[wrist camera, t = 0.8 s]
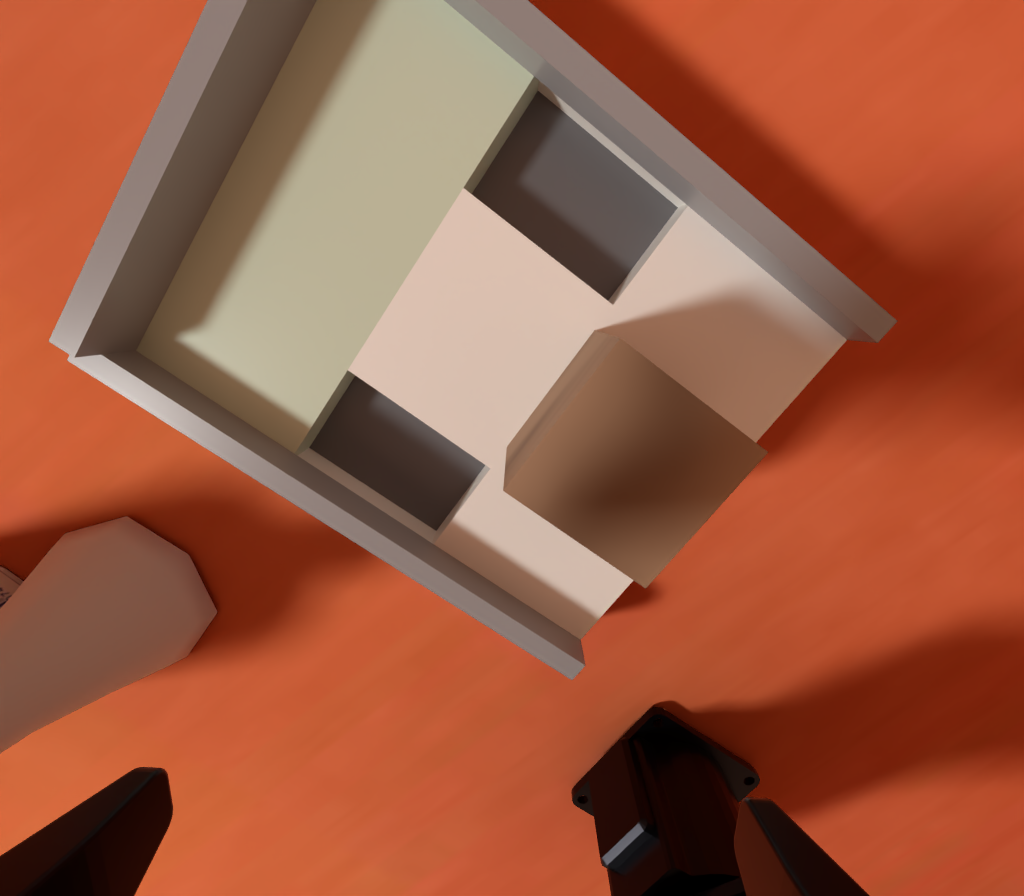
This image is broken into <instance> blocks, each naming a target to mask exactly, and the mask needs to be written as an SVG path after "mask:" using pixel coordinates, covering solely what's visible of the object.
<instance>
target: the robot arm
mask: <svg viewBox="0 0 1024 896" xmlns="http://www.w3.org/2000/svg"><path fill="white" fill-rule="evenodd" d="M656 719H660V720H658V721H654V720H656ZM759 782H760V778H759V776H758V774H757V772H756V770H755V769H754V767H752V766H751V765H749V764H748V763H746V762H745V761H743V760H742V759H740V758H738V757H737V756H735V755H734V754H732V753H731V752H729V751H728V750H726V749H724V748H723V747H721V746H720V745H718V744H717V743H715V742H714V741H712V740H710V739H709V738H707V737H706V736H704V735H703V734H701V733H700V732H698V731H697V730H695V729H693V728H692V727H690V726H689V725H687V724H686V723H684V722H683V721H681V720H679V719H678V718H676V717H675V716H673V715H672V714H670V713H669V712H667V711H666V710H664V709H662V708H658V707H655V708H651V709H650V710H648V711H647V712H646V713H645V714H644V715H643V716H642V717H641V718H640V719H639V720H638V721H637V723H636V724H635V725H634V726H633V727H632V728H631V729H630V730H629V731H628V732H627V733H626V734H625V735H624V736H623V737H622V738H621V739H620V740H619V741H618V742H617V743H616V744H615V745H614V746H613V747H612V748H611V749H610V750H609V751H608V752H607V753H606V754H605V755H604V756H603V757H602V758H601V759H600V760H599V762H598V763H597V764H596V765H595V766H594V767H593V768H592V769H591V770H590V771H589V772H588V773H587V774H586V775H585V776H584V777H583V778H582V779H581V780H580V781H579V782H578V783H577V784H576V785H575V786H574V787H573V789H572V801H573V803H574V805H576V806H577V807H579V808H580V809H582V810H584V811H585V812H587V813H589V814H591V815H592V816H594V819H595V826H596V833H597V839H598V846H599V853H600V860H601V864H602V866H604V867H606V868H607V871H608V877H609V884H610V890H611V896H869V895H868V894H867V893H866V892H865V891H864V890H863V889H862V888H861V887H860V886H859V885H858V884H857V883H856V882H855V881H854V880H853V879H852V878H851V877H850V876H849V875H848V874H847V873H846V872H845V871H844V870H843V869H842V868H841V867H840V866H839V865H838V864H837V863H836V862H835V861H834V860H833V859H832V858H831V857H830V856H829V855H828V854H827V853H826V852H825V851H824V850H823V849H822V848H820V847H819V846H818V845H817V844H816V843H815V842H814V841H813V840H812V839H811V838H810V837H809V836H808V835H807V834H806V833H805V832H804V831H803V830H802V829H801V828H800V827H799V826H798V825H797V824H796V823H795V822H794V821H793V820H792V819H791V818H790V817H789V816H788V815H787V814H786V813H785V812H784V811H783V810H782V809H781V808H780V807H779V806H778V805H777V804H775V803H774V802H773V801H771V800H770V799H767V798H753V797H746V796H747V795H748V794H749V793H750V792H751V791H752V790H753V789H754V788H755V787H757V785H758V784H759ZM583 795H584V796H583ZM744 797H746V798H744ZM743 798H744V799H743ZM742 799H743V800H742ZM741 800H742V801H741ZM740 801H741V804H739V802H740ZM172 815H173V804H172V798H171V791H170V785H169V779H168V774H167V772H166V771H165V770H164V769H163V768H153V767H139V768H136V769H134V770H132V771H130V772H128V773H127V774H125V775H124V776H122V777H121V778H119V779H118V780H116V781H115V782H113V783H112V784H110V785H109V786H107V787H105V788H104V789H102V790H101V791H99V792H98V793H96V794H95V795H93V796H92V797H90V798H89V799H87V800H85V801H84V802H82V803H81V804H79V805H78V806H76V807H75V808H73V809H72V810H70V811H69V812H67V813H66V814H64V815H62V816H61V817H59V818H58V819H56V820H55V821H53V822H52V823H50V824H49V825H47V826H46V827H44V828H43V829H41V830H39V831H38V832H36V833H35V834H33V835H32V836H30V837H29V838H27V839H26V840H24V841H23V842H21V843H20V844H18V845H16V846H15V847H13V848H12V849H10V850H9V851H7V852H6V853H4V854H3V855H1V856H0V896H134V895H135V893H136V891H137V889H138V887H139V885H140V883H141V881H142V879H143V877H144V875H145V873H146V871H147V869H148V867H149V865H150V863H151V861H152V859H153V857H154V855H155V853H156V851H157V849H158V847H159V845H160V843H161V841H162V839H163V837H164V835H165V833H166V831H167V829H168V827H169V825H170V822H171V819H172Z"/></svg>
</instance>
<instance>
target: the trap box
mask: <svg viewBox="0 0 1024 896" xmlns="http://www.w3.org/2000/svg"><path fill="white" fill-rule="evenodd" d="M896 322H897V320H896V319H895V318H893V317H892V316H891V315H890V314H889V313H888V312H887V311H885V310H884V309H883V308H882V307H881V306H880V305H878V304H877V303H876V302H875V301H874V300H873V299H872V298H870V297H869V296H868V295H867V294H866V293H865V292H863V291H862V290H861V289H860V288H859V287H858V286H857V285H855V284H854V283H853V282H852V281H851V280H850V279H848V278H847V277H846V276H845V275H844V274H843V273H842V272H840V271H839V270H838V269H837V268H836V267H835V266H834V265H832V264H831V263H830V262H829V261H828V260H827V259H825V258H824V257H823V256H822V255H821V254H820V253H819V252H817V251H816V250H815V249H814V248H813V247H812V246H810V245H809V244H808V243H807V242H806V241H805V240H804V239H802V238H801V237H800V236H799V235H798V234H797V233H795V232H794V231H793V230H792V229H791V228H790V227H789V226H787V225H786V224H785V223H784V222H783V221H782V220H780V219H779V218H778V217H777V216H776V215H775V214H774V213H772V212H771V211H770V210H769V209H768V208H767V207H765V206H764V205H763V204H762V203H761V202H760V201H759V200H757V199H756V198H755V197H754V196H753V195H752V194H750V193H749V192H748V191H747V190H746V189H745V188H744V187H742V186H741V185H740V184H739V183H738V182H737V181H735V180H734V179H733V178H732V177H731V176H730V175H729V174H727V173H726V172H725V171H724V170H723V169H722V168H721V167H719V166H718V165H717V164H716V163H715V162H714V161H712V160H711V159H710V158H709V157H708V156H707V155H706V154H704V153H703V152H702V151H701V150H700V149H699V148H697V147H696V146H695V145H694V144H693V143H692V142H691V141H689V140H688V139H687V138H686V137H685V136H684V135H682V134H681V133H680V132H679V131H678V130H677V129H676V128H674V127H673V126H672V125H671V124H670V123H669V122H667V121H666V120H665V119H664V118H663V117H662V116H661V115H659V114H658V113H657V112H656V111H655V110H654V109H652V108H651V107H650V106H649V105H648V104H647V103H646V102H644V101H643V100H642V99H641V98H640V97H639V96H637V95H636V94H635V93H634V92H633V91H632V90H631V89H629V88H628V87H627V86H626V85H625V84H624V83H622V82H621V81H620V80H619V79H618V78H617V77H616V76H614V75H613V74H612V73H611V72H610V71H609V70H608V69H606V68H605V67H604V66H603V65H602V64H601V63H599V62H598V61H597V60H596V59H595V58H594V57H593V56H591V55H590V54H589V53H588V52H587V51H586V50H584V49H583V48H582V47H581V46H580V45H579V44H578V43H576V42H575V41H574V40H573V39H572V38H571V37H569V36H568V35H567V34H566V33H565V32H564V31H563V30H561V29H560V28H559V27H558V26H557V25H556V24H554V23H553V22H552V21H551V20H550V19H549V18H548V17H546V16H545V15H544V14H543V13H542V12H541V11H539V10H538V9H537V8H536V7H535V6H534V5H533V4H531V3H530V2H529V1H528V0H208V1H207V3H206V5H205V7H204V9H203V12H202V14H201V16H200V18H199V20H198V22H197V24H196V27H195V29H194V31H193V33H192V35H191V37H190V39H189V42H188V44H187V46H186V48H185V50H184V52H183V54H182V57H181V59H180V61H179V63H178V65H177V67H176V69H175V72H174V74H173V76H172V78H171V80H170V82H169V84H168V87H167V89H166V91H165V93H164V95H163V97H162V99H161V102H160V104H159V106H158V108H157V110H156V112H155V114H154V117H153V119H152V121H151V123H150V125H149V127H148V129H147V132H146V134H145V136H144V138H143V140H142V142H141V144H140V147H139V149H138V151H137V153H136V155H135V157H134V159H133V162H132V164H131V166H130V168H129V170H128V172H127V174H126V177H125V179H124V181H123V183H122V185H121V187H120V189H119V192H118V194H117V196H116V198H115V200H114V202H113V204H112V207H111V209H110V211H109V213H108V215H107V217H106V219H105V222H104V224H103V226H102V228H101V230H100V232H99V234H98V237H97V239H96V241H95V243H94V245H93V247H92V249H91V252H90V254H89V256H88V258H87V260H86V262H85V264H84V267H83V269H82V271H81V273H80V275H79V277H78V279H77V282H76V284H75V286H74V288H73V290H72V292H71V294H70V297H69V299H68V301H67V303H66V305H65V307H64V309H63V312H62V314H61V316H60V318H59V320H58V322H57V324H56V327H55V329H54V331H53V333H52V335H51V337H50V339H49V342H50V343H52V344H54V345H55V346H57V347H58V348H60V349H61V350H63V351H65V352H66V353H68V354H69V357H68V360H67V361H69V362H71V363H72V364H74V365H75V366H77V367H79V368H80V369H82V370H83V371H85V372H86V373H88V374H90V375H91V376H93V377H94V378H96V379H97V380H99V381H101V382H102V383H104V384H105V385H107V386H108V387H110V388H112V389H113V390H115V391H116V392H118V393H120V394H121V395H123V396H124V397H126V398H127V399H129V400H131V401H132V402H134V403H135V404H137V405H138V406H140V407H142V408H143V409H145V410H146V411H148V412H150V413H151V414H153V415H154V416H156V417H157V418H159V419H161V420H162V421H164V422H165V423H167V424H168V425H170V426H172V427H173V428H175V429H176V430H178V431H180V432H181V433H183V434H184V435H186V436H187V437H189V438H191V439H192V440H194V441H195V442H197V443H198V444H200V445H202V446H203V447H205V448H206V449H208V450H210V451H211V452H213V453H214V454H216V455H217V456H219V457H221V458H222V459H224V460H225V461H227V462H228V463H230V464H232V465H233V466H235V467H236V468H238V469H239V470H241V471H243V472H244V473H246V474H247V475H249V476H251V477H252V478H254V479H255V480H257V481H258V482H260V483H262V484H263V485H265V486H266V487H268V488H269V489H271V490H273V491H274V492H276V493H277V494H279V495H281V496H282V497H284V498H285V499H287V500H288V501H290V502H292V503H293V504H295V505H296V506H298V507H299V508H301V509H303V510H304V511H306V512H307V513H309V514H311V515H312V516H314V517H315V518H317V519H318V520H320V521H322V522H323V523H325V524H326V525H328V526H329V527H331V528H333V529H334V530H336V531H337V532H339V533H341V534H342V535H344V536H345V537H347V538H348V539H350V540H352V541H353V542H355V543H356V544H358V545H359V546H361V547H363V548H364V549H366V550H367V551H369V552H370V553H372V554H374V555H375V556H377V557H378V558H380V559H382V560H383V561H385V562H386V563H388V564H389V565H391V566H393V567H394V568H396V569H397V570H399V571H400V572H402V573H404V574H405V575H407V576H408V577H410V578H412V579H413V580H415V581H416V582H418V583H419V584H421V585H423V586H424V587H426V588H427V589H429V590H430V591H432V592H434V593H435V594H437V595H438V596H440V597H442V598H443V599H445V600H446V601H448V602H449V603H451V604H453V605H454V606H456V607H457V608H459V609H460V610H462V611H464V612H465V613H467V614H468V615H470V616H472V617H473V618H475V619H476V620H478V621H479V622H481V623H483V624H484V625H486V626H487V627H489V628H490V629H492V630H494V631H495V632H497V633H498V634H500V635H501V636H503V637H505V638H506V639H508V640H509V641H511V642H513V643H514V644H516V645H517V646H519V647H520V648H522V649H524V650H525V651H527V652H528V653H530V654H531V655H533V656H535V657H536V658H538V659H539V660H541V661H543V662H544V663H546V664H547V665H549V666H550V667H552V668H554V669H555V670H557V671H558V672H560V673H561V674H563V675H565V676H566V677H568V678H569V679H571V680H573V679H574V677H575V676H576V675H577V674H578V673H579V672H580V671H581V670H582V669H583V668H584V666H585V661H584V655H583V650H582V645H581V639H582V638H583V637H584V635H585V634H586V633H587V632H588V631H589V630H590V629H591V628H592V626H593V625H594V624H595V623H596V622H597V621H598V620H599V619H600V617H601V616H602V615H603V614H604V613H605V612H606V611H607V610H608V608H609V607H610V606H611V605H612V604H613V603H614V602H615V601H616V599H617V598H618V597H619V596H620V595H621V594H622V593H623V592H624V590H625V589H626V588H627V587H628V586H629V585H630V584H631V583H632V581H633V580H632V579H631V578H629V577H628V576H627V575H625V574H624V573H622V572H621V571H619V570H618V569H616V568H615V567H613V566H612V565H610V564H609V563H608V562H606V561H605V560H603V559H602V558H600V557H599V556H597V555H596V554H594V553H593V552H591V551H590V550H589V549H587V548H586V547H584V546H583V545H581V544H580V543H578V542H577V541H575V540H574V539H573V538H571V537H570V536H568V535H567V534H565V533H564V532H562V531H561V530H559V529H558V528H556V527H555V526H554V525H552V524H551V523H549V522H548V521H546V520H545V519H543V518H542V517H540V516H539V515H537V514H536V513H535V512H533V511H532V510H530V509H529V508H527V507H526V506H524V505H523V504H521V503H520V502H519V501H517V500H516V499H514V498H513V497H511V496H510V495H508V494H507V493H505V492H504V491H503V486H504V474H505V462H506V450H507V446H508V445H509V443H510V442H511V441H512V439H513V438H514V437H515V435H516V434H517V433H518V431H519V430H520V429H521V427H522V426H523V425H524V423H525V422H526V421H527V419H528V418H529V417H530V415H531V414H532V413H533V411H534V410H535V409H536V407H537V406H538V405H539V403H540V402H541V401H542V399H543V398H544V397H545V395H546V394H547V393H548V391H549V390H550V389H551V387H552V386H553V385H554V383H555V382H556V381H557V379H558V378H559V377H560V375H561V374H562V373H563V371H564V370H565V369H566V367H567V366H568V365H569V363H570V362H571V361H572V359H573V358H574V357H575V355H576V354H577V353H578V351H579V350H580V349H581V347H582V346H583V345H584V343H585V342H586V341H587V339H588V338H589V337H590V335H591V334H592V333H593V331H594V330H595V331H598V332H602V333H605V334H608V335H612V336H615V337H618V338H621V339H622V340H623V341H625V342H626V343H627V344H629V345H630V346H631V347H633V348H634V349H635V350H636V351H638V352H639V353H640V354H642V355H643V356H644V357H646V358H647V359H648V360H649V361H651V362H652V363H653V364H655V365H656V366H657V367H658V368H660V369H661V370H662V371H664V372H665V373H666V374H668V375H669V376H670V377H671V378H673V379H674V380H675V381H677V382H678V383H679V384H680V385H682V386H683V387H684V388H686V389H687V390H688V391H690V392H691V393H692V394H693V395H695V396H696V397H697V398H699V399H700V400H701V401H703V402H704V403H705V404H706V405H708V406H709V407H710V408H712V409H713V410H714V411H715V412H717V413H718V414H719V415H721V416H722V417H723V418H725V419H726V420H727V421H728V422H730V423H731V424H732V425H734V426H735V427H736V428H738V429H739V430H740V431H741V432H743V433H744V434H745V435H747V436H748V437H749V438H750V439H752V440H753V441H754V442H757V441H758V440H759V439H760V437H761V436H762V435H763V434H764V433H765V432H766V431H767V430H768V428H769V427H770V426H771V425H772V424H773V423H774V422H775V421H776V419H777V418H778V417H779V416H780V415H781V414H782V413H783V412H784V410H785V409H786V408H787V407H788V406H789V405H790V404H791V403H792V401H793V400H794V399H795V398H796V397H797V396H798V395H799V394H800V392H801V391H802V390H803V389H804V388H805V387H806V386H807V385H808V383H809V382H810V381H811V380H812V379H813V378H814V377H815V376H816V374H817V373H818V372H819V371H820V370H821V369H822V368H823V366H824V365H825V364H826V363H827V362H828V361H829V360H830V359H831V357H832V356H833V355H834V354H835V353H836V352H837V351H838V350H839V348H840V347H841V346H842V345H843V344H844V343H845V342H846V341H847V340H853V341H863V342H874V343H878V342H879V341H880V340H881V339H882V338H883V337H884V335H885V334H886V333H887V332H888V331H889V330H890V329H891V328H892V327H893V326H894V324H895V323H896Z"/></svg>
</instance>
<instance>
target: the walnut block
mask: <svg viewBox="0 0 1024 896" xmlns="http://www.w3.org/2000/svg"><path fill="white" fill-rule="evenodd" d="M767 453H768V452H767V451H766V450H765V449H763V448H762V447H761V446H760V445H758V444H757V443H756V442H754V441H753V440H752V439H750V438H749V437H748V436H747V435H745V434H744V433H743V432H741V431H740V430H739V429H738V428H736V427H735V426H734V425H732V424H731V423H730V422H728V421H727V420H726V419H725V418H723V417H722V416H721V415H719V414H718V413H717V412H715V411H714V410H713V409H712V408H710V407H709V406H708V405H706V404H705V403H704V402H703V401H701V400H700V399H699V398H697V397H696V396H695V395H693V394H692V393H691V392H690V391H688V390H687V389H686V388H684V387H683V386H682V385H680V384H679V383H678V382H677V381H675V380H674V379H673V378H671V377H670V376H669V375H668V374H666V373H665V372H664V371H662V370H661V369H660V368H658V367H657V366H656V365H655V364H653V363H652V362H651V361H649V360H648V359H647V358H646V357H644V356H643V355H642V354H640V353H639V352H638V351H636V350H635V349H634V348H633V347H631V346H630V345H629V344H627V343H626V342H625V341H623V340H622V339H621V338H618V337H615V336H612V335H608V334H605V333H602V332H598V331H595V330H594V331H593V333H592V334H591V335H590V337H589V338H588V339H587V341H586V342H585V343H584V345H583V346H582V347H581V349H580V350H579V351H578V353H577V354H576V355H575V357H574V358H573V359H572V361H571V362H570V363H569V365H568V366H567V367H566V369H565V370H564V371H563V373H562V374H561V375H560V377H559V378H558V379H557V381H556V382H555V383H554V385H553V386H552V387H551V389H550V390H549V391H548V393H547V394H546V395H545V397H544V398H543V399H542V401H541V402H540V403H539V405H538V406H537V407H536V409H535V410H534V411H533V413H532V414H531V415H530V417H529V418H528V419H527V421H526V422H525V423H524V425H523V426H522V427H521V429H520V430H519V431H518V433H517V434H516V435H515V437H514V438H513V439H512V441H511V442H510V443H509V445H508V446H507V450H506V462H505V474H504V486H503V491H504V492H505V493H507V494H508V495H510V496H511V497H513V498H514V499H516V500H517V501H519V502H520V503H521V504H523V505H524V506H526V507H527V508H529V509H530V510H532V511H533V512H535V513H536V514H537V515H539V516H540V517H542V518H543V519H545V520H546V521H548V522H549V523H551V524H552V525H554V526H555V527H556V528H558V529H559V530H561V531H562V532H564V533H565V534H567V535H568V536H570V537H571V538H573V539H574V540H575V541H577V542H578V543H580V544H581V545H583V546H584V547H586V548H587V549H589V550H590V551H591V552H593V553H594V554H596V555H597V556H599V557H600V558H602V559H603V560H605V561H606V562H608V563H609V564H610V565H612V566H613V567H615V568H616V569H618V570H619V571H621V572H622V573H624V574H625V575H627V576H628V577H629V578H631V579H632V580H634V581H635V582H637V583H638V584H640V585H641V586H643V587H644V588H645V589H646V588H647V586H648V585H649V584H650V583H651V582H652V581H653V580H654V579H655V578H656V576H657V575H658V574H659V573H660V572H661V571H662V570H663V569H664V568H665V566H666V565H667V564H668V563H669V562H670V561H671V560H672V559H673V558H674V556H675V555H676V554H677V553H678V552H679V551H680V550H681V549H682V548H683V547H684V545H685V544H686V543H687V542H688V541H689V540H690V539H691V538H692V537H693V535H694V534H695V533H696V532H697V531H698V530H699V529H700V528H701V527H702V525H703V524H704V523H705V522H706V521H707V520H708V519H709V518H710V517H711V515H712V514H713V513H714V512H715V511H716V510H717V509H718V508H719V507H720V505H721V504H722V503H723V502H724V501H725V500H726V499H727V498H728V497H729V495H730V494H731V493H732V492H733V491H734V490H735V489H736V488H737V487H738V485H739V484H740V483H741V482H742V481H743V480H744V479H745V478H746V477H747V475H748V474H749V473H750V472H751V471H752V470H753V469H754V468H755V467H756V465H757V464H758V463H759V462H760V461H761V460H762V459H763V458H764V457H765V455H766V454H767Z"/></svg>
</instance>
